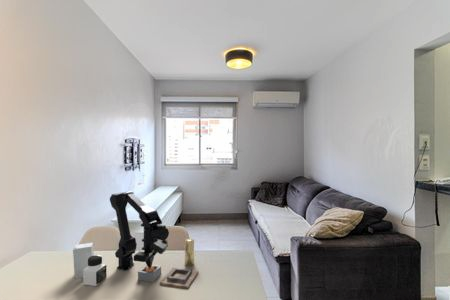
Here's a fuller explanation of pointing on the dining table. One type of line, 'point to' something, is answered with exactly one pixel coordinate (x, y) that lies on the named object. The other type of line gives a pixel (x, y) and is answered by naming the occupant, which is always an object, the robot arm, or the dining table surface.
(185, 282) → the brown board with frame
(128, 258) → the robot arm
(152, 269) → the button
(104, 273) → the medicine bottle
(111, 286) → the dining table surface
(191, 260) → the brass billet
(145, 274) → the button housing
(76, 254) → the skincare box
